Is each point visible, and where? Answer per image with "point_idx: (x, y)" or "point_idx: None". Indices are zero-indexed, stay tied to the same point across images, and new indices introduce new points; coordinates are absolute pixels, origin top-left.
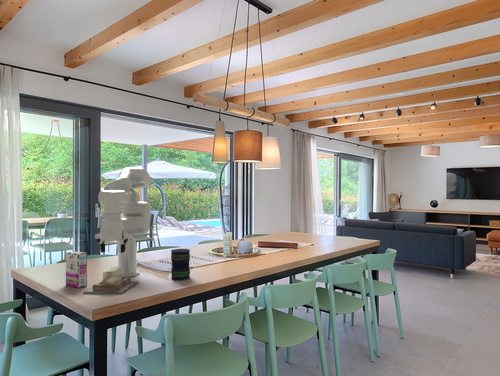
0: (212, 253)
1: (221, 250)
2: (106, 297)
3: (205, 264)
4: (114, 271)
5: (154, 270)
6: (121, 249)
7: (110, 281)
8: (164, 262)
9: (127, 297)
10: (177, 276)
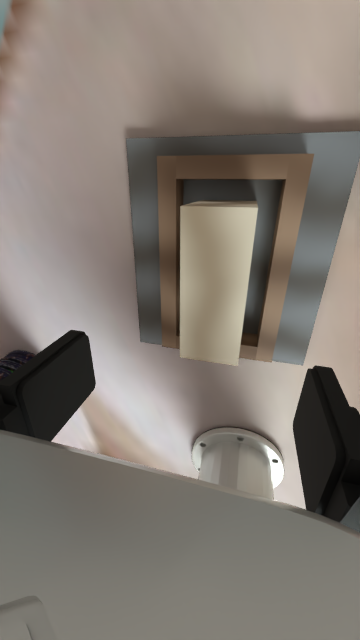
0: None
1: None
2: (186, 50)
3: None
4: (182, 246)
5: None
6: (54, 347)
7: (206, 202)
8: None
9: (76, 64)
10: (16, 360)
